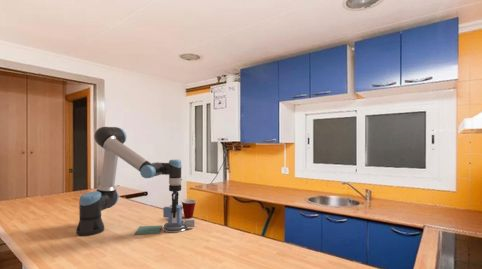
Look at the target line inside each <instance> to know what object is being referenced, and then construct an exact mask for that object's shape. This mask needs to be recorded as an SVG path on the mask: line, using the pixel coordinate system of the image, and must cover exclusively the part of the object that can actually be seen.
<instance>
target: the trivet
mask: <svg viewBox="0 0 482 269" xmlns="http://www.w3.org/2000/svg"><path fill="white" fill-rule="evenodd" d="M162 227H163V225H141V226H139V227H138V228H137V229H136V231H134V233H133V236H139V235H140V236H142V235H144V236H145V235H159V234H160V232H161V230H162V229H163V228H162Z"/></svg>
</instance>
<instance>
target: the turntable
mask: <svg viewBox="0 0 482 269" xmlns="http://www.w3.org/2000/svg"><path fill="white" fill-rule="evenodd" d="M195 224H196V219H193V218H185V219H184V220H182V223H181V224H180V225H168V222H166V223H164V224H163V227H164V229H165V230H169V231H177V230H182V229H184V228H186V227H188V228H195V227H196V225H195Z"/></svg>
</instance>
